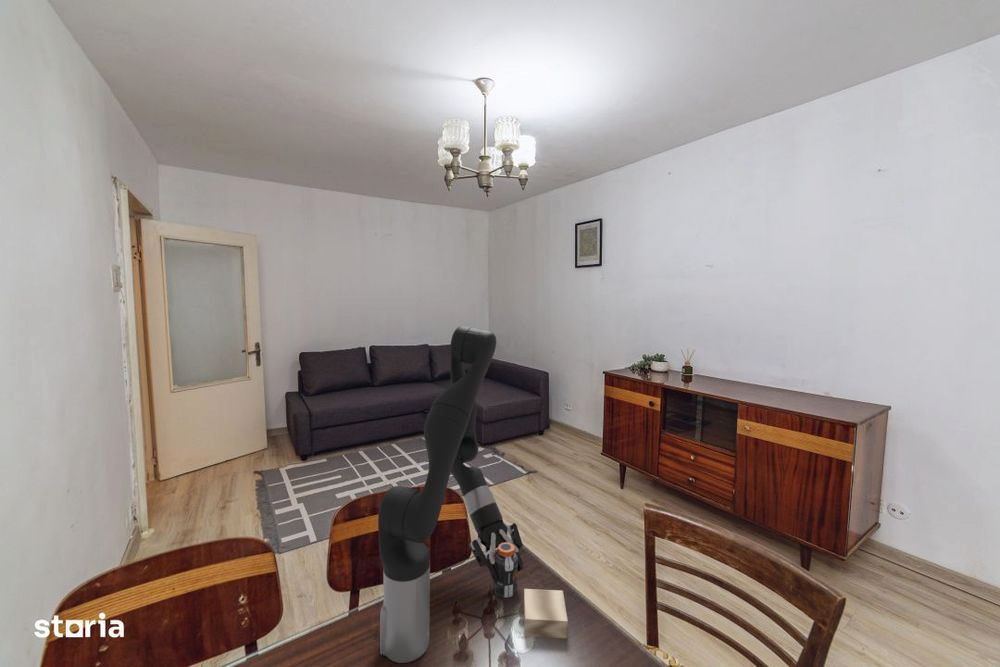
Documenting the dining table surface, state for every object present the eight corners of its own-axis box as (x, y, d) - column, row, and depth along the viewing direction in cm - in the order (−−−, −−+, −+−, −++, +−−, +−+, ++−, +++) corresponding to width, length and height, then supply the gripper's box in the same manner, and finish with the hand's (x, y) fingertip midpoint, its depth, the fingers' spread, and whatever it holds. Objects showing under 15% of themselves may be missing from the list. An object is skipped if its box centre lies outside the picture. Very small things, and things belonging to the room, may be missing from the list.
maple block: (524, 636, 89) (525, 618, 88) (523, 604, 98) (524, 588, 97) (566, 638, 88) (567, 621, 88) (562, 606, 97) (562, 590, 97)
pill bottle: (517, 599, 99) (518, 555, 98) (492, 598, 99) (493, 554, 98) (516, 581, 105) (518, 539, 104) (493, 580, 105) (494, 538, 104)
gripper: (465, 511, 102) (493, 584, 94) (510, 494, 110) (539, 559, 102) (453, 522, 106) (479, 592, 98) (497, 505, 115) (524, 568, 107)
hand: (510, 575), depth 100 cm, fingers closed on pill bottle, 6 cm apart
